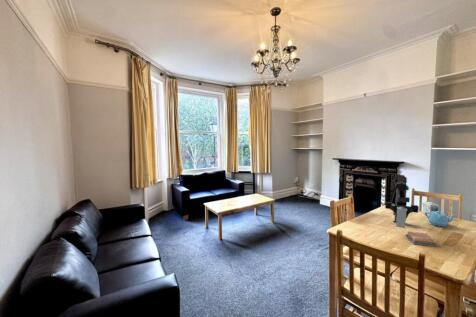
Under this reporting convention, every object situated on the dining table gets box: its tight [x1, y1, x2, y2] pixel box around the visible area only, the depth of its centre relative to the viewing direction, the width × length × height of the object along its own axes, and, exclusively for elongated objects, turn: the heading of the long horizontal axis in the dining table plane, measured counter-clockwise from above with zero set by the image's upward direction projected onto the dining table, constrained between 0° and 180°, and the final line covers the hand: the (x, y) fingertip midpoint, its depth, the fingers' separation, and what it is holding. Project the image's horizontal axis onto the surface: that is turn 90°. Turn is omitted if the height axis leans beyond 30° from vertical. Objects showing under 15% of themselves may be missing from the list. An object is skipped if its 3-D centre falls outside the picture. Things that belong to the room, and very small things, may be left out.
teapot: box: [424, 210, 456, 228], centre depth 165 cm, size 13×14×11 cm
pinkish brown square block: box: [404, 231, 437, 248], centre depth 140 cm, size 12×12×4 cm
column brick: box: [395, 207, 407, 229], centre depth 147 cm, size 5×5×14 cm
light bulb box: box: [421, 201, 440, 217], centre depth 186 cm, size 11×7×11 cm, turn 168°
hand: (401, 217), depth 146 cm, fingers closed on column brick, 5 cm apart
